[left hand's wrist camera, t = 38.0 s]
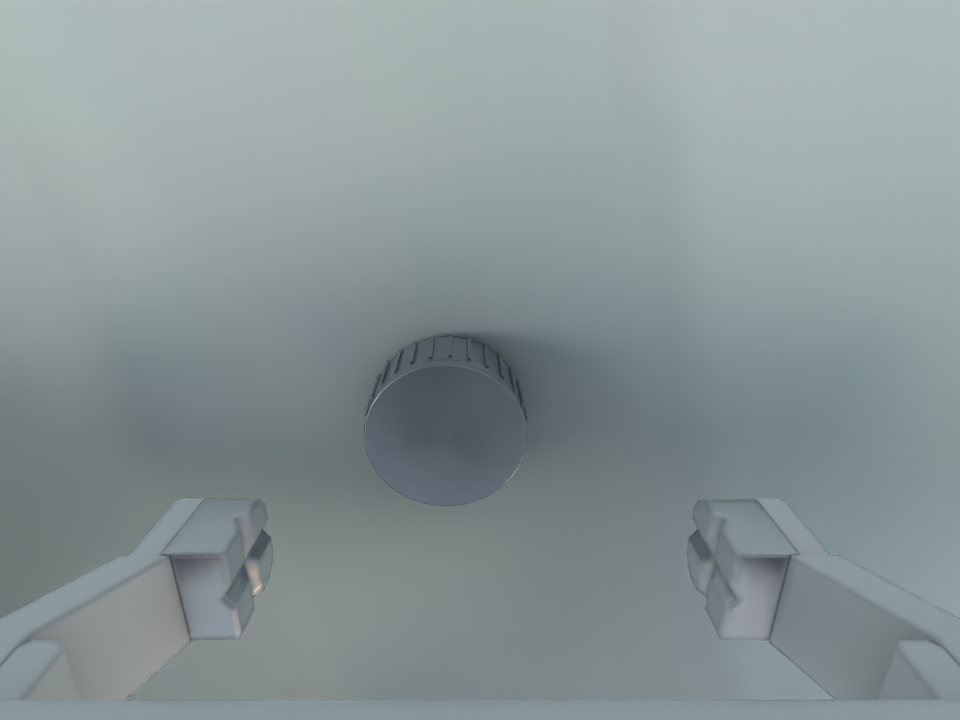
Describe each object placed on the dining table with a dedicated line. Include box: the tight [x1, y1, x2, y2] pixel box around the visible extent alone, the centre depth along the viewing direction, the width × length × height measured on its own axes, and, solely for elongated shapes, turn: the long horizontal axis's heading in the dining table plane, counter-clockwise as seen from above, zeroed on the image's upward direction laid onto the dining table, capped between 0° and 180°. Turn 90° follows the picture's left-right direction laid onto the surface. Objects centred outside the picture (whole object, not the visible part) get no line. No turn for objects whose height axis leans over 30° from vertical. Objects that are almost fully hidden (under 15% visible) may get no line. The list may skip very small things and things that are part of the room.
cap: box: [364, 335, 528, 506], centre depth 14 cm, size 4×4×2 cm
